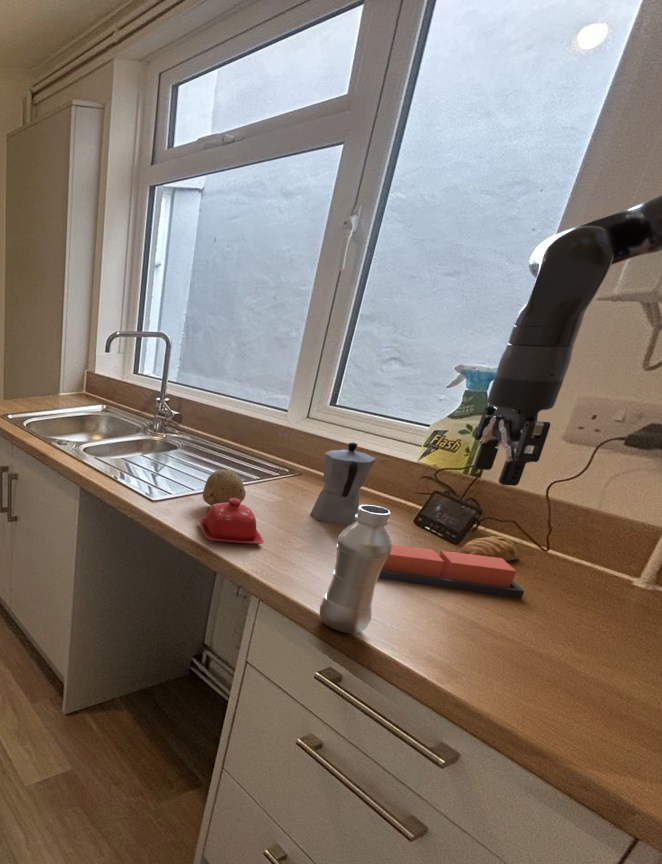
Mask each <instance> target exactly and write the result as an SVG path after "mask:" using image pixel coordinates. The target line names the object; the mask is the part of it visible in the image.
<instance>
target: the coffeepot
mask: <svg viewBox="0 0 662 864" xmlns="http://www.w3.org/2000/svg"><path fill="white" fill-rule="evenodd" d="M357 447H358V443H356V442H349V443H348V449H335V450H334V449H331V450H329V451H327V452H325V453H324V464H323V465H324V466H323V476H322V477H323V478H322V481H323V482H324V484H323V485H324V486H323V488H322V489H321V490H320V492H319V494H318V496H317V499H316V501H315V504H314V505H313V508H312V509H311V512H310V514H311V516H312V517H313V518H314V519H315V520H317V521H318V522H322V523H325V524H330V525H339V526H347V527H348V526H350V525H351V524H353V523H355V522H356V521H357V520H356V519H355V516H356V514H357V512H358V509H359V507H360V495H359V492H360V489H361V488H362V487H363V486H364V484H365V481H366V480H367V478H368V476H369V474H370V471H371V469H372V468H373V465H374V463H375V461H376V458H375V457H373V456H371V455H369V454H368V453H364V452H360V451H357V450H356V449H357Z"/></svg>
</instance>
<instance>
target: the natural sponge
mask: <svg viewBox="0 0 662 864" xmlns="http://www.w3.org/2000/svg"><path fill="white" fill-rule="evenodd" d="M245 489H246V488H245V486H244V482H243V480H242V478H241V477H240V475H239V474H238V473H237V472H235V471H234V470H231V469H218V470H215V471H213V472H212V473H211V474H210V475H209V476H208V477H207V480H206V482H205V484H204V487H203V490H202V500H203V501H204V502H205V503H206V504H208V505H209V506H210V507H211V506H212V505H213V504H217V503H229V502H228V500H229V499H230V498H237V499H239V500H240V501H241V503H242V502H243V501H244V500H245V497H246V493H247V492H246V490H245Z"/></svg>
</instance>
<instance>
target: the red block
mask: <svg viewBox="0 0 662 864" xmlns="http://www.w3.org/2000/svg"><path fill="white" fill-rule="evenodd" d="M438 555H439V556H440V557H441V559H442V560H443V561H444V564H443V567H442V569H441V572H440V575H439V576H440V577H441V578H445V579H452V580H459V581H467V582H474V583H481V584H488V585H495V586H502V587H509V588H510V586H511V583H512V581H514V579H515V576H516V574H517V573H518V572H517V570H516V569H515V568H514V567H512V566H511V564H510V563H508V561H505V560H504V559H502V558H496V557H488V556H480V555H472V554H464V553H461V552H455V551H447V550H440V552H439V553H438Z"/></svg>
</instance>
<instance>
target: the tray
mask: <svg viewBox="0 0 662 864" xmlns="http://www.w3.org/2000/svg"><path fill="white" fill-rule="evenodd" d="M378 580H385V581H386V580H387V581H391V582H400V583H406V584H413V585H418V586H419V585H421V586H427V587H433V588H440V589H441V588H442V589H447V590H453V591H460V592H461V591H462V592H467V593H474V594H482V595H488V596H495V597H501V598H502V597H503V598H509V599H514V600H515V599H516V600H521V599H522V598H523V596H524V593H525V591H524V590H523V589H522V588H521V587H520V586H519V585H518V584H517V583H516V582H515V581H514V580H513V581H512V583H511V586H510V588H509V587H502V586H495V585H488V584H481V583H474V582H467V581H459V580H452V579H445V578H441V577H440V576H439V578H438V577H431V576H424V575H417V574H410V573H403V572H396V571H388V570H381V572H380V575H379V577H378Z"/></svg>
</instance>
